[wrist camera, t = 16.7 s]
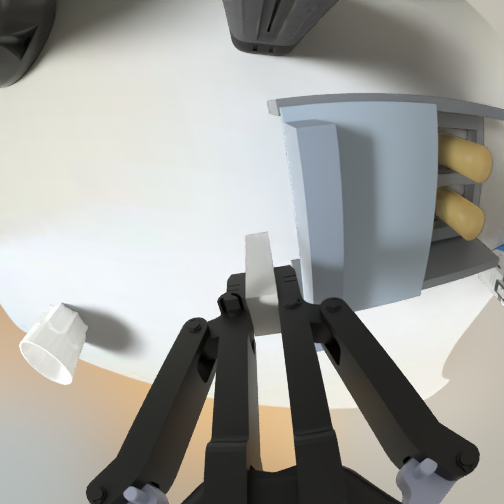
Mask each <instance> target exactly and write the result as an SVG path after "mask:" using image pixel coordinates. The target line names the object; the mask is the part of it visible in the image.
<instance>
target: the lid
mask: <svg viewBox="0 0 504 504" xmlns="http://www.w3.org/2000/svg"><path fill="white" fill-rule="evenodd" d="M279 109H280V114H281V120H282V126H283V132H284V139H285V145H286V151H287V158H288V165H289V172H290V179H291V186H292V194H293V201H294V209H295V217H296V226H297V234H298V243H299V253H300V263H301V273H302V284H303V295H304V300H305V301H306V302H308V303H311V304H321V303H322V301H323V300H325V299H327V298H331V297H337V298H340V299H343V300H344V301H345V302H346V303H347V304H348V306H349V307H350V308H351V309H352V310H353V312H355V311H359V310H364V309H368V308H373V307H377V306H381V305H385V304H389V303H393V302H397V301H401V300H405V299H409V298H413V297H416V296H420V294H421V290H422V285H423V281H424V276H425V272H426V267H427V261H428V256H429V250H430V244H431V238H432V231H433V223H434V214H435V205H436V193H437V176H438V124H437V107H436V104H429V103H416V102H396V101H352V102H331V103H317V104H306V105H296V106H287V107H279ZM315 348H316V352H317V351H323V350H324V349H323V348H322V346H321V343H315Z"/></svg>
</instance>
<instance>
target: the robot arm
mask: <svg viewBox="0 0 504 504" xmlns="http://www.w3.org/2000/svg"><path fill="white" fill-rule="evenodd" d="M55 9H56V1H55V0H0V88H4V87H7V86H9V85H11V84H13V83H14V82H16V81H17V80H18V79H19V78H21V77H22V76H23V75H24V73H25V72H26V71H27V70H28V69H29V68H30V66H31V65H32V64H33V62H34V61H35V59H36V58H37V56H38V55H39V53H40V51H41V49H42V47H43V46H44V44H45V41H46V39H47V37H48V35H49V32H50V30H51V27H52V24H53V20H54V16H55ZM217 302H218V305H219V308H220V311H221V315H220V316H219V317H218V318H216V319H213V320H211V321H208V322H207V321H206V320H205V319H204V318H200V317H199V318H193V319H190V320H188V321H187V322H186V323H185V324H184V325H183V327H182V329H181V331H180V333H179V335H178V337H177V338H176V340H175V342H174V344H173V346H172V348H171V350H170V352H169V354H168V355H167V357H166V359H165V361H164V363H163V365H162V367H161V369H160V371H159V373H158V375H157V377H156V379H155V381H154V383H153V384H152V386H151V389H150V390H149V392H148V394H147V396H146V398H145V400H144V402H143V405H142V407H141V408H140V410H139V412H138V414H137V416H136V418H135V420H134V422H133V425H132V426H131V428H130V430H129V433H128V434H127V437H126V439H125V441H124V443H123V445H122V447H121V449H120V451H119V453H118V455H117V457H116V458H115V459H114V460H113V461H112V462H111V463H110V464H109V465H108V466H107V467H106V468H105V469H104V470H103V471H102V472H101V473H100V474H99V475H98V476H97V477H96V478H95V479H94V480H92V482H90V483H89V485H88V486H87V490H86V495H87V499H88V500H89V502H90V503H91V504H169V503H168V499H167V497H166V495H165V494H166V493H167V492H168V491H169V489H170V487H171V486H172V484H173V482H174V480H175V478H176V476H177V473H178V471H179V468H180V465H181V463H182V460H183V458H184V455H185V452H186V449H187V447H188V445H189V442H190V439H191V437H192V434H193V431H194V429H195V426H196V424H197V421H198V418H199V415H200V413H201V410H202V408H203V405H204V402H205V400H206V397H207V394H208V392H209V389H210V386H211V384H212V381H213V378H214V376H215V373H216V381H215V394H214V408H213V423H212V438H211V441H210V442H209V443H208V444H207V446H206V453H205V470H204V482H203V483H201V484H200V485H199V486H198V487H197V488H196V489H195V490H194V491H193V492H192V493H191V494H190V495H189V496H188V497H187V498H186V499H185V500H184V501H183V502H182V503H181V504H439V503H440V502H441V501H442V500H443V498H444V497H445V496H446V494H447V493H448V492H449V491H450V489H451V488H452V486H453V485H454V484H455V482H456V481H457V480H458V479H460V478H462V477H464V476H466V475H467V474H469V473H471V472H472V471H473V470H474V469H475V468H476V467H477V465H478V462H479V456H480V453H479V451H478V448H477V447H476V446H475V445H474V444H472V443H471V442H469V441H468V440H466V439H464V438H463V437H461V436H460V435H458V434H456V433H455V432H453V431H452V430H450V429H448V428H447V427H445V426H444V425H442V424H441V423H439V422H438V420H437V419H436V417H435V416H434V415H433V414H432V412H431V410H430V409H429V408H428V407H427V405H426V404H425V402H424V401H423V400H422V398H421V397H420V396H419V394H418V393H417V392H416V390H415V389H414V388H413V386H412V385H411V384H410V382H409V381H408V380H407V378H406V377H405V376H404V374H403V373H402V372H401V370H400V369H399V368H398V367H397V365H396V364H395V363H394V361H393V360H392V359H391V358H390V356H389V355H388V354H387V352H386V351H385V350H384V349H383V347H382V346H381V345H380V344H379V342H378V341H377V340H376V339H375V337H374V336H373V335H372V334H371V332H370V331H369V330H368V329H367V327H366V326H365V325H364V324H363V323H362V321H361V320H360V319H359V318H358V316H357V315H356V314H355V313H354V312H353V310H352V309H351V308H350V307H349V306H348V304H347V303H346V302H345V301H344V300H343V299H340V298H337V297H331V298H327V299H325V300H323V301H322V303H321V304H311V303H308V302H306V301H305V300H304V299H303V298H302V296H301V292H300V288H299V284H298V280H297V276H296V272H295V269H294V268H293V267H292V266H290V265H287V266H281V267H274V268H273V261H272V255H271V249H270V242H269V236H268V232H262V233H256V234H250V235H246V273H239V274H233V275H231V276H230V277H229V279H228V280H227V292H226V293H224V294H223V295H221V296H220V297H219V298H218V301H217ZM276 333H282V341H283V349H284V357H285V365H286V373H287V381H288V390H289V398H290V407H291V415H292V425H293V434H294V446H295V455H296V466H292V467H290V468H287V469H284V470H281V471H278V472H265V471H263V469H262V463H261V457H260V434H259V410H258V386H257V362H256V343H255V339H254V334H255V336H262V335H270V334H276ZM315 343H321V346H322V348H323V349H324V351H325V353H326V354H327V356H328V358H329V359H330V361H331V363H332V364H333V366H334V367H335V369H336V371H337V372H338V374H339V376H340V377H341V379H342V381H343V382H344V384H345V386H346V387H347V389H348V391H349V392H350V394H351V396H352V397H353V399H354V401H355V402H356V404H357V406H358V407H359V409H360V411H361V412H362V414H363V415H364V417H365V419H366V420H367V422H368V424H369V426H370V427H371V429H372V431H373V432H374V434H375V436H376V437H377V439H378V441H379V442H380V444H381V446H382V447H383V449H384V451H385V452H386V454H387V455H388V457H389V458H390V460H391V461H392V462H393V463H394V464H395V466H397V468H398V469H399V470H400V471H399V472H398V474H397V477H396V483H397V486H398V487H399V489H400V490H401V491H402V495H403V500H402V503H401V502H399V501H398V500H396V499H394V498H393V497H391V496H390V495H388V494H387V493H385V492H384V491H382V490H381V489H379V488H378V487H376V486H375V485H374V484H372V483H371V482H369V481H368V480H366V479H365V478H364V477H362V476H361V475H359V474H358V473H357V472H355V471H354V470H352V469H350V468H347V467H345V466H342V463H341V458H340V452H339V447H338V442H337V437H336V433H335V430H334V429H333V427H332V423H331V417H330V413H329V407H328V403H327V398H326V393H325V388H324V384H323V379H322V374H321V370H320V365H319V361H318V356H317V352H316V348H315Z"/></svg>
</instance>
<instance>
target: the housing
mask: <svg viewBox="0 0 504 504" xmlns="http://www.w3.org/2000/svg"><path fill="white" fill-rule="evenodd" d="M352 101H396V102H416V103H429V104H436V107H437V124H438V127H445V128H460V129H467V140H469V141H472V142H474V143H477V144H480V145H483V146H484V117H487V118H493V119H498V120H503V121H504V109H500V108H496V107H492V106H487V105H483V104H478V103H472V102H467V101H461V100H454V99H447V98H439V97H431V96H420V95H407V94H385V93H348V94H326V95H312V96H301V97H291V98H283V99H275V100H271V101H267V105H268V110H269V113H271V114H274V115H277V116H281V114H280V109H279V107H287V106H296V105H306V104H317V103H331V102H352ZM480 116H481V117H480ZM481 184H482V183H477V182H475V181H474V180H472V179H470V178H468V177H466V176H464V175H462V174H460V173H458V172H456V171H454V170H452V169H438V176H437V187H442V186H453V185H465V191H464V198H465V199H467V200H468V201H470V202H472V203H473V204H475V205H476V206H478V207H479V201H480V193H481ZM499 260H500V258H499V257H498V256H497V255H496V254H494V253H493V252H492V251H491V250H490V249H489V248H488V247H487V246H486V245H484V244H483V243H482V242H481V241H480V240H479V239H477V238H475V239H473V240H471V241H467V240H465V239H464V238H463V237H462V236H461V235H459V234H458V233H457V232H456V231H455V230H454V229H452V228H451V227H450V226H449V225H447V224H446V223H445V222H444V221H442V220H436V221H434V223H433V231H432V238H431V244H430V250H429V256H428V261H427V267H426V272H425V276H424V281H423V285H422V290H424V289H427V288H431V287H434V286H438V285H441V284H445V283H448V282H451V281H455V280H458V279H461V278H464V277H468V276H471V275H474V274H477V273H480V272H483V271H486V270H489V269H492V268H495V267H497V266H498V263H499ZM291 263H292V267H293V268H294V269H295V272H296V276H297V280H298V284H299V288H300V292H301V296H302V298H303V299H304V295H303V284H302V273H301V263H300V259H297V260H291Z"/></svg>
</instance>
